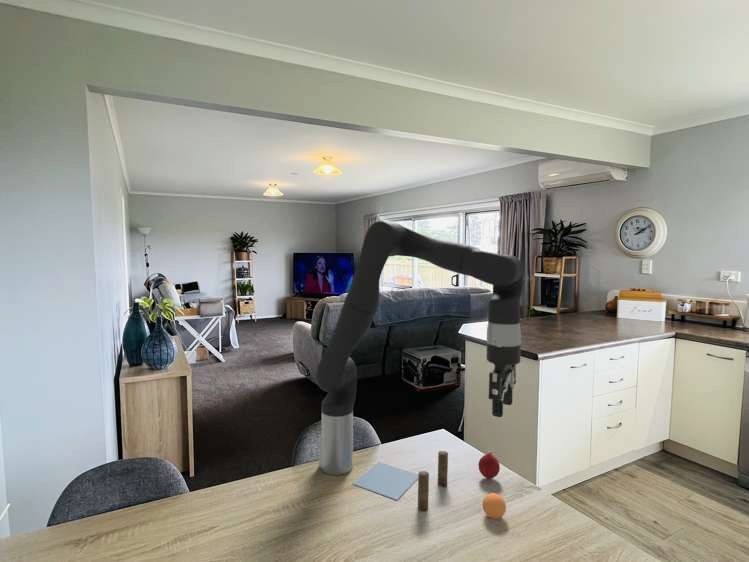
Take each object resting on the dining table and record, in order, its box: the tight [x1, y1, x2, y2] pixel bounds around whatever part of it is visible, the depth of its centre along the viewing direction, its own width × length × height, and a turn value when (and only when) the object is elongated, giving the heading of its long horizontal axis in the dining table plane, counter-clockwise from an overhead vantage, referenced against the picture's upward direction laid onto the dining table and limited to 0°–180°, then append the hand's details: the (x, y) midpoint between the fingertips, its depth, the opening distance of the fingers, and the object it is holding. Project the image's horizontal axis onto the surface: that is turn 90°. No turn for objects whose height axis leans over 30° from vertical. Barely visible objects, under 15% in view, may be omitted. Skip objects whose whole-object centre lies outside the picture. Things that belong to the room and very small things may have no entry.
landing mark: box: [352, 461, 418, 501], centre depth 118 cm, size 14×14×1 cm
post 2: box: [437, 450, 449, 488], centre depth 116 cm, size 3×3×9 cm
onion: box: [478, 450, 501, 480], centre depth 119 cm, size 6×6×8 cm
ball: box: [482, 492, 507, 520], centre depth 102 cm, size 6×6×6 cm
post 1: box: [417, 470, 430, 512], centre depth 105 cm, size 3×3×9 cm
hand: (502, 410), depth 98 cm, fingers open, 8 cm apart
